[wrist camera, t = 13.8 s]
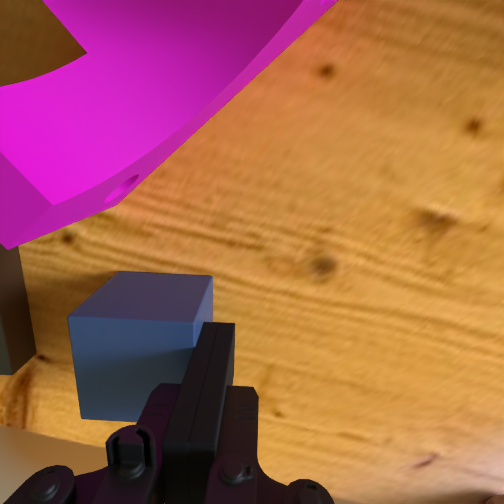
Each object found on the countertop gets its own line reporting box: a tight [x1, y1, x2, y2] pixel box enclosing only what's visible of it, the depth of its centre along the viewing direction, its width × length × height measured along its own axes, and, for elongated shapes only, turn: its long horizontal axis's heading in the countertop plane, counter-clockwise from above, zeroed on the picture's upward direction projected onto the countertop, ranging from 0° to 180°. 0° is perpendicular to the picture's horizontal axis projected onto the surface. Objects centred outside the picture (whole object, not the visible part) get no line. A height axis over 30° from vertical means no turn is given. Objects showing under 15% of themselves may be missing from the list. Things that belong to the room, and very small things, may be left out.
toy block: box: [0, 0, 338, 250], centre depth 11 cm, size 15×6×8 cm, turn 130°
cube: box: [67, 271, 213, 422], centre depth 16 cm, size 5×5×5 cm
